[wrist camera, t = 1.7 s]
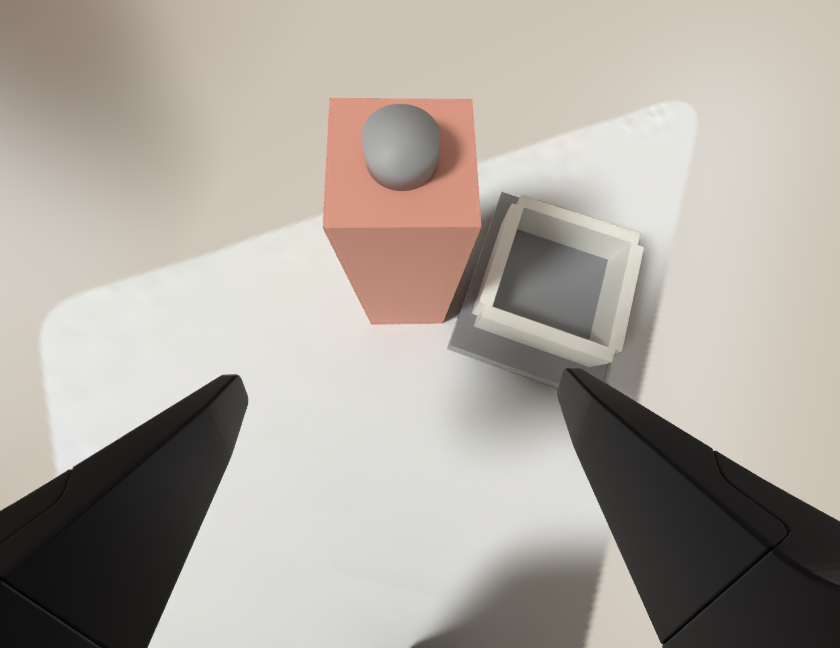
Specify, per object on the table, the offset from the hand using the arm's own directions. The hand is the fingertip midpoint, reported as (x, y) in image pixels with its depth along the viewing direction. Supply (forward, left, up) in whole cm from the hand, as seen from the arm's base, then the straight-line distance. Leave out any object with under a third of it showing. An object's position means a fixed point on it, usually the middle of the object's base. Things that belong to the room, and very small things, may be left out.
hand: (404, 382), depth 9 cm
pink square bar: (+7, +1, -13) cm, 15 cm away
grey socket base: (+8, -8, -13) cm, 17 cm away
